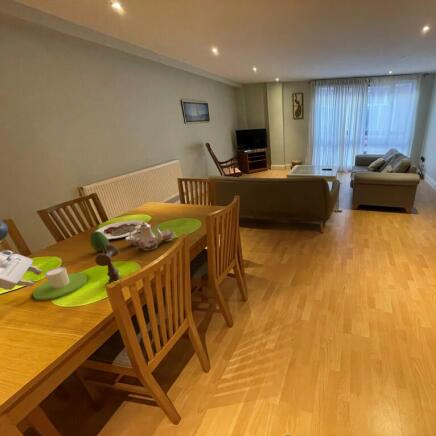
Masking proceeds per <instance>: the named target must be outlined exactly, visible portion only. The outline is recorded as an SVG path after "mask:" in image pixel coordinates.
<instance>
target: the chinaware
mask: <svg viewBox="0 0 436 436" xmlns="http://www.w3.org/2000/svg"><path fill="white" fill-rule="evenodd" d="M145 222H146V221H144V222H143V223H142V225H140V226H139V227H138V228H139V229H138V230H137V233H135V234H131V232H132V231H133V230H136V229H133V230H131V231H130V235H129V236H126V237H125V239H124V241H123V243H124V244H125V245H129V244H130V245H133V246H139V248H140V249H141V250H142V251H145V252H146V251H153V250H155V249H157V248H158V247H159V244H160V243H161V242H162V240H164V241H165V242H170V241H172V240H173V239H174V240H175V239H176V238H177V234H175V230H174V229H171V230H170V229H165V230H163V231H160V230H159V228H158V227H159V223H156V224H155V226H154V230H155V233H156V235H155V234H154V233H153V231H152V224H150V223H147V222H146V223H145ZM138 231H140V232H138ZM125 241H128V243H127V242H125Z"/></svg>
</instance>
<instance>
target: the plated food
mask: <svg viewBox="0 0 436 436" xmlns="http://www.w3.org/2000/svg"><path fill="white" fill-rule="evenodd" d="M143 222H145V223H147V222H146V221H144V220H139V219H132V220H131V219H129V220H124V221H117V222H113V223H110V224H107V225H105V226H101V227H100V228H98V229H97V230H95V231H94V232H96V231H98V232H101V233H102V234H103V235H105V236H106V238H107V239H108V240H116V239H121V238H126V237H128V236H129V235H130V231H131V230H133V229H136V230H133V231H132V232H131V234H137V233H141V232H140V231H138V232H137V230H138V229H139V228H138V227H139V226H140V225H142V223H143Z"/></svg>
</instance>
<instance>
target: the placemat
mask: <svg viewBox="0 0 436 436" xmlns="http://www.w3.org/2000/svg"><path fill="white" fill-rule="evenodd" d="M67 274H68V278H69V283H68V284H67V285H66V286H64V287H61V288H53V287H52V285H51V284H50V282H49V281H48V280H47V281H44V282H43V283H42V284H39V286H37V287H36V288H35V289H34V290H33V292H32V296H33V298H34V299H35V300H37V301H49V300H55V299H59V298H62V297H65V296H67V295H69V294H71V293H73V292H75V291H77V290H79V289H80V288H82V287H83V286H84V285H85V284H86V283H87V281H88V276H87V275H86V274H85V273H83V272H72V273H67Z"/></svg>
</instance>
